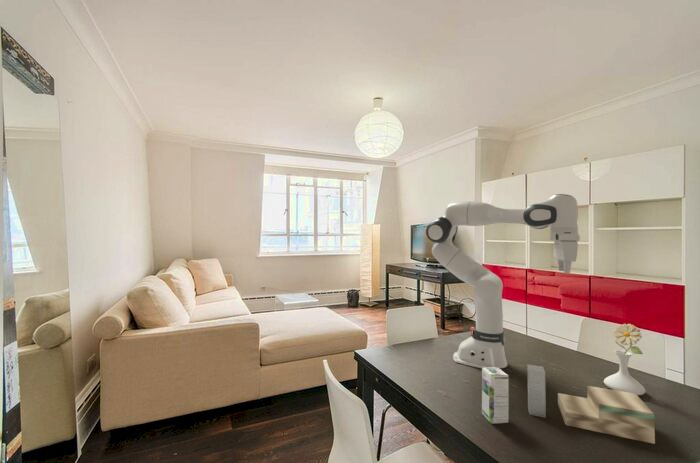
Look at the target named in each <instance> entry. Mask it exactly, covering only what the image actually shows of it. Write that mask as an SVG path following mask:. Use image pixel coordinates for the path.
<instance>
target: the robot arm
mask: <svg viewBox="0 0 700 463" xmlns="http://www.w3.org/2000/svg"><path fill="white" fill-rule="evenodd" d="M578 219H579V206H578V202H577V199H576V198H575V196H573V195H570V194H565V193H563V194H562V193H558V194H552V196H551V197H549V198H547V199H544V200H542V201H540V202H537V203H533V204H531V205H528V206H527V207H526V208H525V209H522V208H521V209H517V208H515V209H514V208H501V207H498V206H495V205H493V204H490V203H487V202H483V201H482V202H481V201H475V200H473V201H468V200H467V201H458V202H452V203H449V204H448V205H447V206H446V208H445V210H444V216H440V217H438V218H436V219H434V220H432V221H431V222H429V224H428V225H427V227H426V229H425V234H426V237H427V240H429V241H431V242H433V243H434V244H433V246H432V248H431V254H432V256H433V258H434V259H435V260H436V261H437V262H438V263H439V264H440V265H441V266H442V267H444V268H445V269H446V270H447V271H448V272H450V273H451V274H452V275H454V276H455V277H456V278H457V279H459V280H460V281H462V282H464V283H465V284H467V285H469V286H470V287H472V288H473V295H474V296H473V297H474V307H475V327H474V326H471V327H470V337H467V339H464V340H463V341H461V342H460V343H459V346H458V349H457V351H456V350H455V352H454V353H453V354H452V355H453V356H452V359H453V361H454V362H455V363H457V364H462V365H465V366H470V367H474V368H478V369H482V368H486V367H496V368H499V369H504V368H507V367H508V362H507V358H506V354H505V347H504V345H505V332H504V320H503V318H504V315H503V312H504V311H503V296H502V295H503V289H504V284H503V281H502V279H501V278H500V277H499V275H497V274H496V273H493V272H492V271H491V270H490V269H488V268H486V267H485V266H483V265H482V264H480V263H478V262H477V261H476V260H475V259H473V258H472V257H470V256H469V255H468V254H466V253H465V252H464V251H463V250H461V249H460V248H459V247H458V246H456V245H455V244H454V243H453V242H454V241H455V238H456V236H457V233H458V230H459V229H458V228H459V226H466V227H467V226H469V227H477V226H478V227H481V226H489V225H495V224H520V225H521V224H522V225H526V226H529V227H530V228H534V229H535V230H543V229H546V228H548V227H550V228H549V229H550V233H549V234H550V237H549V238H550V240H549V241H553V242H554V243H553V257H554V259H556V260H557V266H558V267H557V268H558V271H561V272H563V273H564V274H571V267H572V263H573V262H574V263H575V262H576V261H577V257H578V247H579V245H578V242H579V241H580V239H581V238H580V237H581V236H580V234H579V226H578Z"/></svg>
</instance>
